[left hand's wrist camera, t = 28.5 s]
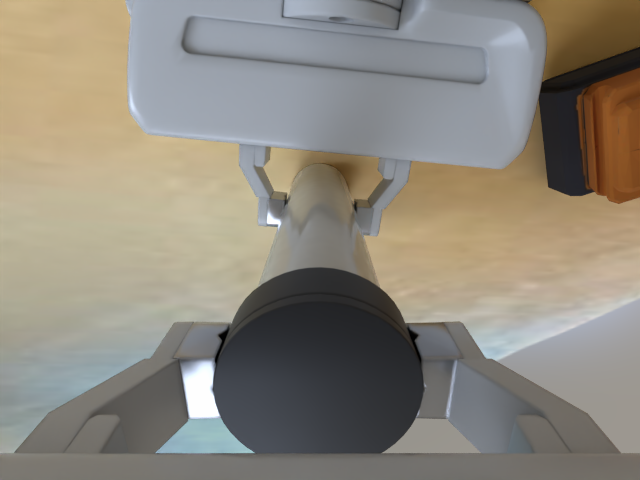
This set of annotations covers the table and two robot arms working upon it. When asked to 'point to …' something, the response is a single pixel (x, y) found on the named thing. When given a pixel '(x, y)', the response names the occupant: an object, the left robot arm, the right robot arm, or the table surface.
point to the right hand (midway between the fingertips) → (318, 228)
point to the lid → (318, 367)
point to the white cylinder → (319, 228)
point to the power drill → (594, 128)
